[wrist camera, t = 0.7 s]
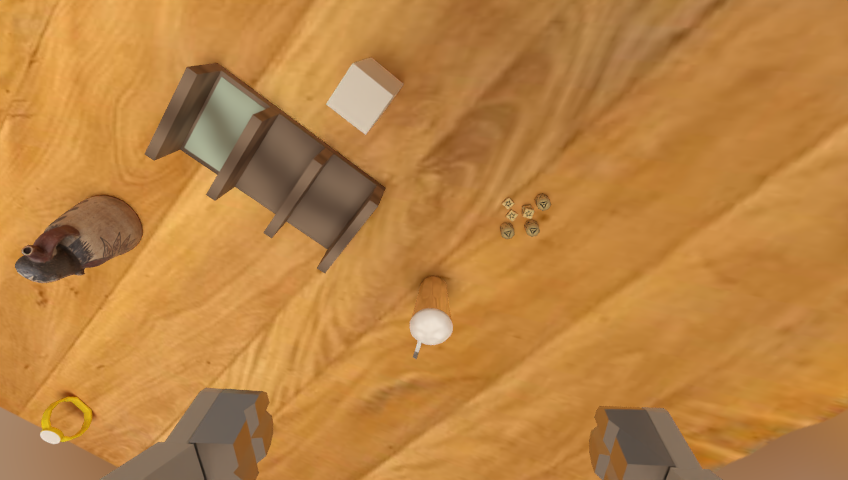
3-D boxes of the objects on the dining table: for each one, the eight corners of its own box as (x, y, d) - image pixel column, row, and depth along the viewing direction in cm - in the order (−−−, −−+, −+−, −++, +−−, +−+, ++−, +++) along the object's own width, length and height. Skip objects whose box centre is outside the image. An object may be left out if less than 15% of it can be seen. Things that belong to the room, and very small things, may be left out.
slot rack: (217, 63, 43) (187, 66, 38) (385, 188, 48) (378, 205, 43) (176, 141, 47) (144, 154, 42) (336, 250, 52) (324, 273, 47)
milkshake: (404, 295, 54) (395, 348, 45) (427, 264, 52) (423, 313, 43) (435, 312, 55) (432, 367, 46) (459, 282, 53) (461, 334, 44)
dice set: (548, 192, 48) (552, 198, 46) (541, 234, 50) (544, 241, 48) (502, 189, 48) (504, 195, 46) (497, 231, 50) (498, 238, 48)
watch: (103, 412, 66) (75, 447, 61) (90, 417, 67) (62, 453, 62) (71, 387, 64) (39, 422, 59) (58, 393, 64) (25, 428, 59)
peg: (371, 57, 42) (352, 62, 34) (404, 84, 43) (393, 95, 35) (348, 91, 44) (325, 104, 36) (381, 116, 45) (365, 134, 36)
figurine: (78, 230, 52) (-19, 282, 42) (89, 182, 50) (-11, 224, 39) (135, 258, 54) (56, 315, 43) (150, 213, 51) (69, 261, 40)
